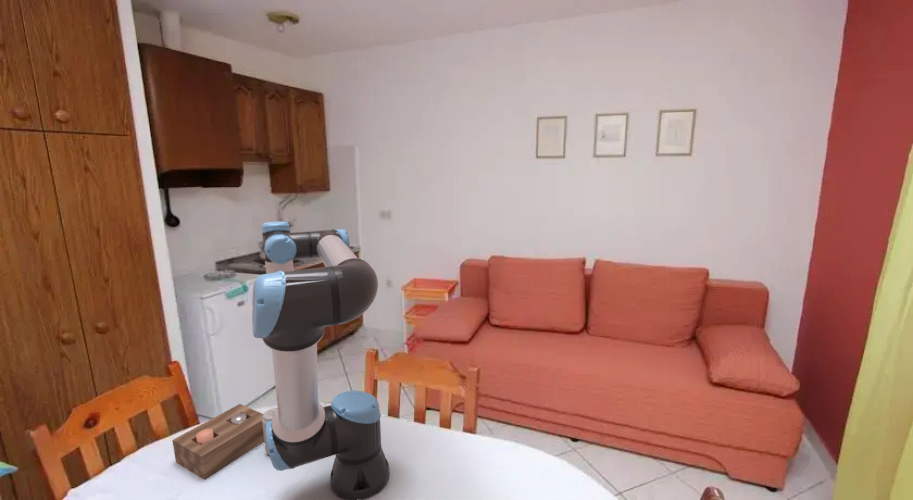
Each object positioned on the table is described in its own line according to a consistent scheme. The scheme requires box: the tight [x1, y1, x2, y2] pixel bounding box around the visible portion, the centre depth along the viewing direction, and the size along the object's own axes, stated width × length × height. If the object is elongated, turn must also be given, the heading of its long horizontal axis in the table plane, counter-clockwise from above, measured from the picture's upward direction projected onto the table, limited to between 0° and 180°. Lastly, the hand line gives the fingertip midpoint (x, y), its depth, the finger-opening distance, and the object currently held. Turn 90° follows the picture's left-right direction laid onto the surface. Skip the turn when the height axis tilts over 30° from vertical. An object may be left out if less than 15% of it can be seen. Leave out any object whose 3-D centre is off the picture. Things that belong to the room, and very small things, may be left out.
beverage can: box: [262, 407, 278, 456], centre depth 118 cm, size 6×6×12 cm
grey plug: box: [231, 413, 246, 425], centre depth 123 cm, size 4×4×6 cm
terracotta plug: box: [196, 429, 214, 445], centre depth 114 cm, size 4×4×6 cm
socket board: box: [172, 403, 265, 480], centre depth 119 cm, size 14×20×7 cm
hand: (287, 347), depth 126 cm, fingers closed
